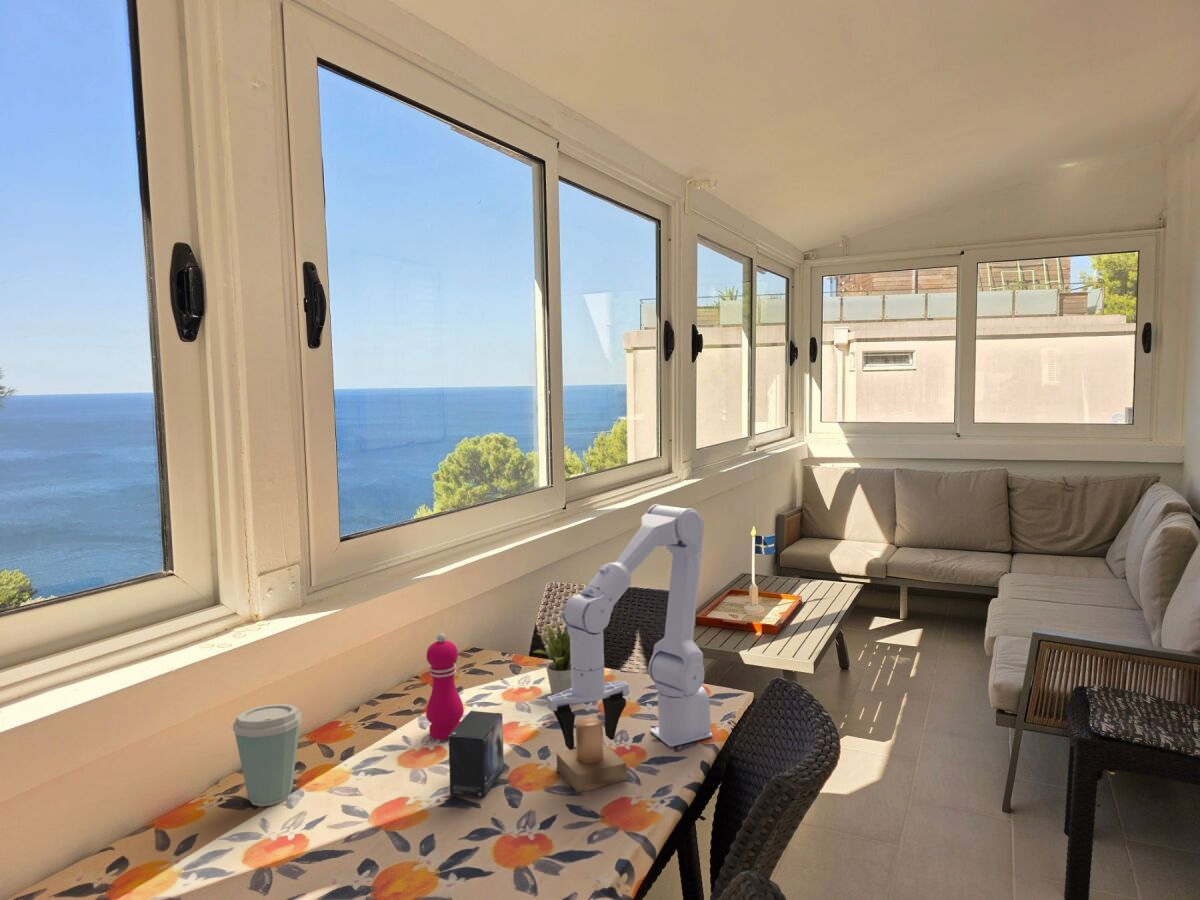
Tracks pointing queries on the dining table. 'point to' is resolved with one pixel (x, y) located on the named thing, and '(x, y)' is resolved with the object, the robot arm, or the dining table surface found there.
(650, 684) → the dining table surface
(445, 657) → the pepper mill
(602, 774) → the tan square base block
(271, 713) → the disposable coffee cup
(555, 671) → the house plant
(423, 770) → the dining table surface
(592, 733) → the peach domed cylinder
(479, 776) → the small box
